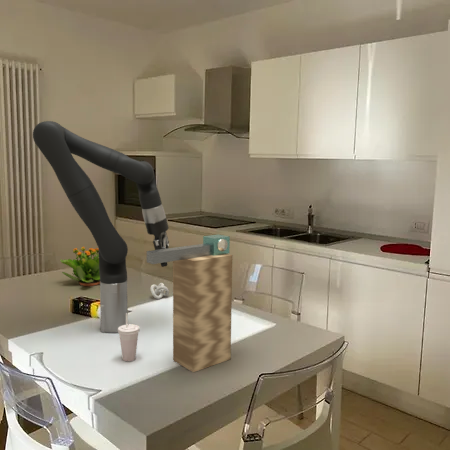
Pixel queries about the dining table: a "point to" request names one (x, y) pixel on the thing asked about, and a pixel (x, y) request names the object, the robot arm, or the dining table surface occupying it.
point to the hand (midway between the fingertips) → (166, 261)
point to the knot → (159, 291)
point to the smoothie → (128, 340)
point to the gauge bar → (191, 250)
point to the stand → (202, 311)
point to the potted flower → (84, 267)
